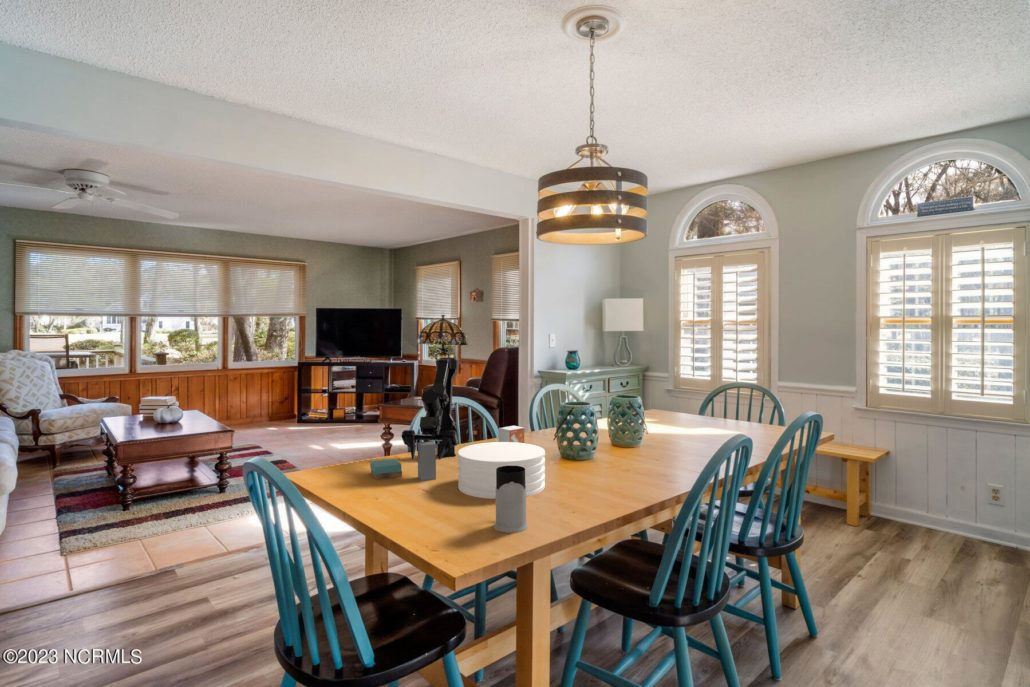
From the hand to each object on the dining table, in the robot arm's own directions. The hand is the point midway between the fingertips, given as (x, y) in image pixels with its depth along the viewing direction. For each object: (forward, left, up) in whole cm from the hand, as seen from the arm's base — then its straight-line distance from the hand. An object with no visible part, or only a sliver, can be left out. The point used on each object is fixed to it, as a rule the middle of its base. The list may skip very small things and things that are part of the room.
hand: (425, 458), depth 192 cm
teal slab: (+12, -11, -5) cm, 17 cm away
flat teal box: (+11, -11, -7) cm, 18 cm away
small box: (-36, -11, -7) cm, 38 cm away
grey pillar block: (-1, -1, -7) cm, 7 cm away
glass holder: (-11, +50, -7) cm, 52 cm away
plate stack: (-21, +17, -7) cm, 28 cm away
